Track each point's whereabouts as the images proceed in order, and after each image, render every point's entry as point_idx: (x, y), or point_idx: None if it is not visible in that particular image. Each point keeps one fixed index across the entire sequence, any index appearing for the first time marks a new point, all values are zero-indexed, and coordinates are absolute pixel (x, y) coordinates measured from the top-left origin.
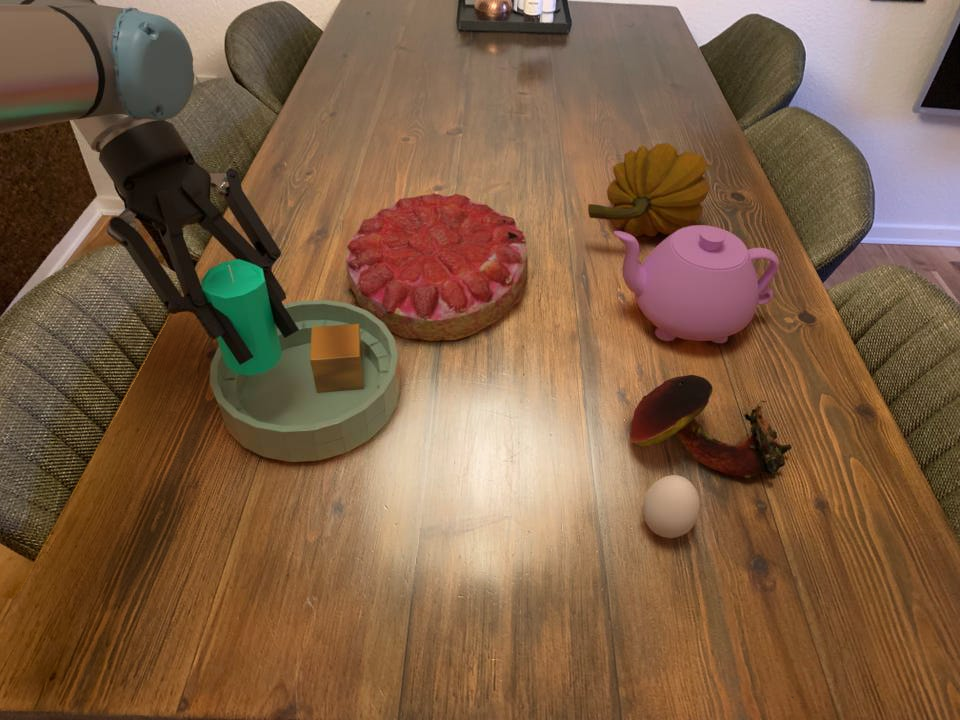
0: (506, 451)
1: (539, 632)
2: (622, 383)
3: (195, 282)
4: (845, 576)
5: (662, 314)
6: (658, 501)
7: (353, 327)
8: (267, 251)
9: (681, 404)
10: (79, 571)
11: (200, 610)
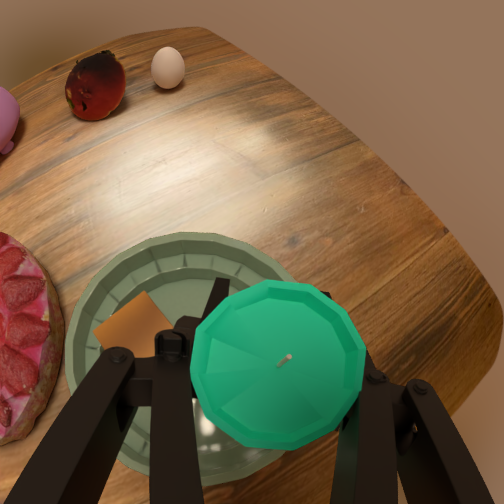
0: (156, 167)
1: (274, 105)
2: (58, 143)
3: (371, 406)
4: (159, 45)
5: (6, 124)
6: (177, 59)
7: (101, 332)
8: (129, 369)
9: (104, 60)
10: (461, 364)
11: (419, 266)
